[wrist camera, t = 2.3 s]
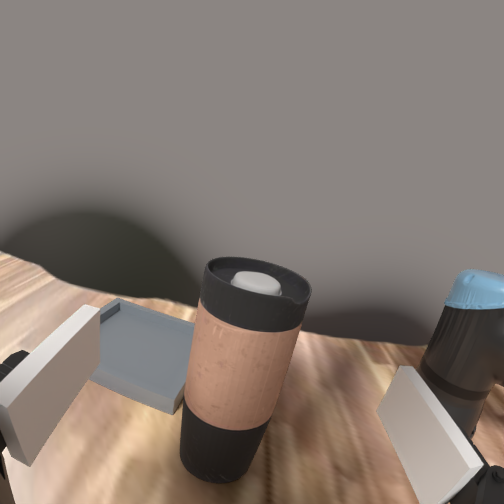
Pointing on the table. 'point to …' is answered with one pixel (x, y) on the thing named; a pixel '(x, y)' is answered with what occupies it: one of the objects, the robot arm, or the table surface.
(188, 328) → the slate tray
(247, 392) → the travel mug
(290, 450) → the table surface
